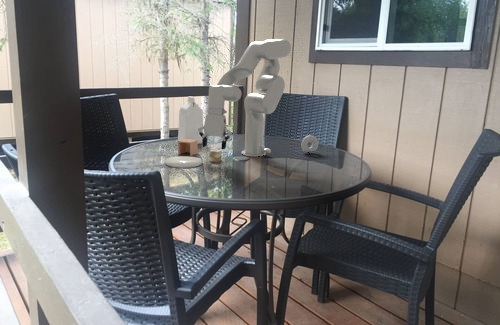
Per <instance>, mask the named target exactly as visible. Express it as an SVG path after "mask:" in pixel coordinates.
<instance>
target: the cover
mask: <svg viewBox="0 0 500 325" xmlns="http://www.w3.org/2000/svg"><path fill="white" fill-rule="evenodd" d="M197 142H198V140H192V139H183V140H180V141H178V140H177V154H178V155H183V154H185V153H189V157H194V156H195V155H197V154H198V144H197Z"/></svg>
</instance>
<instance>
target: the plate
mask: <svg viewBox="0 0 500 325" xmlns="http://www.w3.org/2000/svg"><path fill="white" fill-rule="evenodd" d="M202 164H203V159H201V158H199V157H195V156H188V155H187V156H186V155H185V156H183V155H182V156H172V157H168V158H166V159H165V160H164V165H166V166H169V167H173V168H177V169H178V168H179V169H181V168H183V169H185V168H186V169H188V168H189V169H190V168H196V167H199V166H202Z"/></svg>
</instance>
